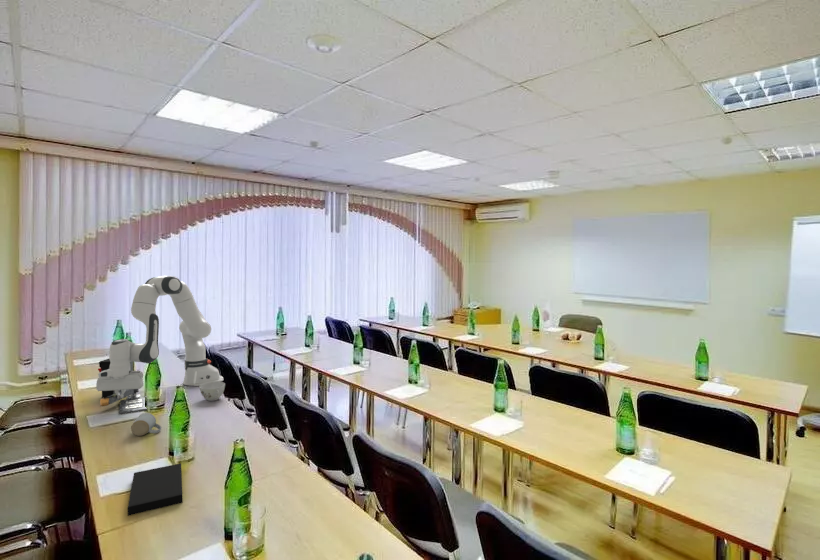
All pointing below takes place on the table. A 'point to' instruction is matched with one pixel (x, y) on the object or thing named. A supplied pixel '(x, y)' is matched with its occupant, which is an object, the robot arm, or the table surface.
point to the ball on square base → (133, 396)
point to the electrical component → (105, 365)
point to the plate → (132, 405)
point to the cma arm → (114, 398)
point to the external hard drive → (155, 489)
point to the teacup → (212, 390)
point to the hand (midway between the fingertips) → (120, 398)
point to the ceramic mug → (145, 425)
